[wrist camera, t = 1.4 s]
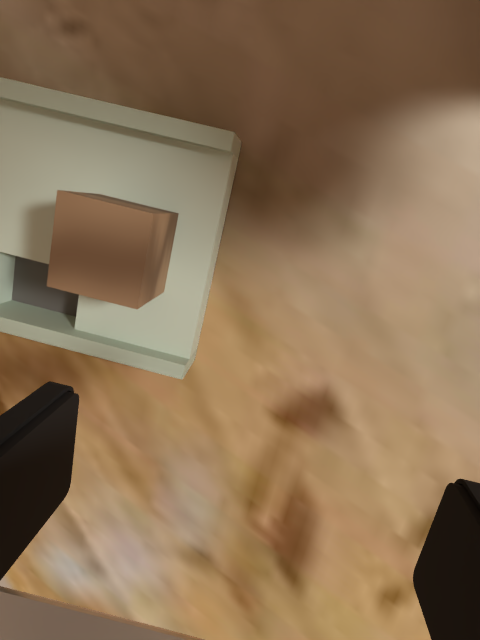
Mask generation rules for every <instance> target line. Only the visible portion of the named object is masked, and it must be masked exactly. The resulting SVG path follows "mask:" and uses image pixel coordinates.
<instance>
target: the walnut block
mask: <svg viewBox="0 0 480 640" xmlns="http://www.w3.org/2000/svg"><path fill="white" fill-rule="evenodd" d="M178 215H179V213H175V212H171V211H167V210H163V209H159V208H155V207H151V206H147V205H143V204H139V203H135V202H130V201H126V200H122V199H118V198H114V197H110V196H106V195H102V194H94V193H84V192H73V191H63V190H57V196H56V206H55V215H54V224H53V233H52V242H51V251H50V260H49V269H48V279H47V286H48V287H52V288H55V289H59V290H63V291H67V292H71V293H75V294H79V295H83V296H87V297H90V298H94V299H98V300H102V301H106V302H110V303H114V304H118V305H121V306H125V307H129V308H133V309H139V308H140V307H142V306H143V305H145V304H146V303H148V302H149V301H151V300H153V299H154V298H156V297H157V296H159V295H160V294H162V293H163V292H164V290H165V284H166V279H167V274H168V268H169V263H170V258H171V252H172V247H173V242H174V236H175V231H176V226H177V220H178Z"/></svg>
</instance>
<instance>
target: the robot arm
mask: <svg viewBox="0 0 480 640" xmlns="http://www.w3.org/2000/svg"><path fill="white" fill-rule="evenodd" d="M78 405H79V395H78V394H76V393H74V390H73V388H72V387H71V386H67V385H63V384H59V383H54V382H48V383H46V384H44V385H43V386H42V387H40V388H39V389H37V390H36V391H35V392H33V393H32V394H30V395H29V396H28V397H26V398H25V399H23V400H22V401H20V402H19V403H18V404H16V405H15V406H13V407H12V408H11V409H9V410H8V411H6V412H5V413H4V414H2V415H1V416H0V580H1V579H2V578H3V576H4V575H5V574H6V573H7V571H8V570H9V569H10V567H11V566H12V565H13V564H14V562H15V561H16V560H17V559H18V557H19V556H20V555H21V553H22V552H23V551H24V550H25V548H26V547H27V546H28V544H29V543H30V542H31V541H32V539H33V538H34V537H35V535H36V534H37V533H38V532H39V530H40V529H41V528H42V527H43V525H44V524H45V523H46V521H47V520H48V519H49V518H50V516H51V515H52V514H53V512H54V511H55V510H56V509H57V507H58V506H59V505H60V503H61V502H62V501H63V500H64V498H65V497H66V495H67V493H68V491H69V488H70V484H71V475H72V465H73V455H74V445H75V435H76V425H77V415H78ZM413 583H414V588H415V591H416V594H417V597H418V600H419V603H420V606H421V609H422V612H423V615H424V618H425V621H426V624H427V627H428V630H429V633H430V636H431V639H432V640H480V483H476V482H472V481H468V480H464V479H458V480H457V481H456V482H455V483H449V484H448V485H447V487H446V489H445V492H444V494H443V497H442V499H441V502H440V505H439V507H438V510H437V512H436V515H435V517H434V520H433V523H432V525H431V528H430V530H429V533H428V535H427V538H426V541H425V543H424V546H423V548H422V551H421V554H420V556H419V559H418V561H417V564H416V566H415V569H414V574H413ZM0 640H204V639H200V638H197V637H193V636H189V635H185V634H182V633H178V632H174V631H170V630H167V629H163V628H159V627H155V626H152V625H148V624H144V623H140V622H136V621H132V620H129V619H125V618H121V617H117V616H113V615H110V614H106V613H102V612H98V611H94V610H90V609H87V608H83V607H79V606H75V605H71V604H68V603H64V602H60V601H56V600H52V599H48V598H45V597H41V596H37V595H33V594H29V593H25V592H21V591H17V590H13V589H9V588H5V587H1V586H0Z"/></svg>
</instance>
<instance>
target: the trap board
mask: <svg viewBox="0 0 480 640" xmlns="http://www.w3.org/2000/svg"><path fill="white" fill-rule="evenodd" d="M241 144H242V142H241V141H240V139H239V138H238V136H237V135H236V133H235V132H232V131H228V130H224V129H219V128H215V127H211V126H207V125H202V124H198V123H194V122H190V121H185V120H181V119H177V118H173V117H168V116H164V115H160V114H156V113H151V112H147V111H143V110H138V109H134V108H130V107H126V106H121V105H117V104H113V103H109V102H104V101H100V100H96V99H92V98H87V97H83V96H79V95H75V94H70V93H66V92H62V91H58V90H53V89H49V88H45V87H41V86H36V85H32V84H28V83H23V82H19V81H15V80H11V79H6V78H2V77H0V332H4V333H8V334H11V335H15V336H19V337H23V338H26V339H30V340H34V341H38V342H42V343H45V344H49V345H53V346H57V347H61V348H64V349H68V350H72V351H76V352H79V353H83V354H87V355H91V356H95V357H98V358H102V359H106V360H110V361H113V362H117V363H121V364H125V365H129V366H132V367H136V368H140V369H144V370H147V371H151V372H155V373H159V374H163V375H166V376H170V377H174V378H178V379H183V378H184V376H185V374H186V373H187V371H188V370H189V368H190V367H191V365H192V363H193V362H194V360H195V356H196V351H197V347H198V342H199V337H200V333H201V328H202V324H203V319H204V314H205V310H206V305H207V301H208V296H209V291H210V287H211V282H212V278H213V273H214V268H215V264H216V259H217V255H218V250H219V245H220V241H221V236H222V232H223V227H224V222H225V218H226V213H227V209H228V204H229V199H230V195H231V190H232V186H233V181H234V177H235V172H236V167H237V163H238V158H239V154H240V149H241ZM57 190H63V191H73V192H84V193H94V194H102V195H106V196H110V197H114V198H118V199H122V200H126V201H130V202H135V203H139V204H143V205H147V206H151V207H155V208H159V209H163V210H167V211H171V212H175V213H179V215H178V220H177V226H176V231H175V236H174V242H173V247H172V252H171V258H170V263H169V268H168V274H167V279H166V284H165V290H164V292H163V293H162V294H160V295H159V296H157V297H156V298H154V299H153V300H151V301H149V302H148V303H146V304H145V305H143V306H142V307H140V308H139V309H133V308H129V307H125V306H121V305H118V304H114V303H110V302H106V301H102V300H98V299H94V298H90V297H87V296H83V295H79V294H75V293H71V292H67V291H63V290H59V289H55V288H52V287H48V286H47V279H48V269H49V260H50V251H51V242H52V233H53V224H54V215H55V206H56V196H57Z"/></svg>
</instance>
